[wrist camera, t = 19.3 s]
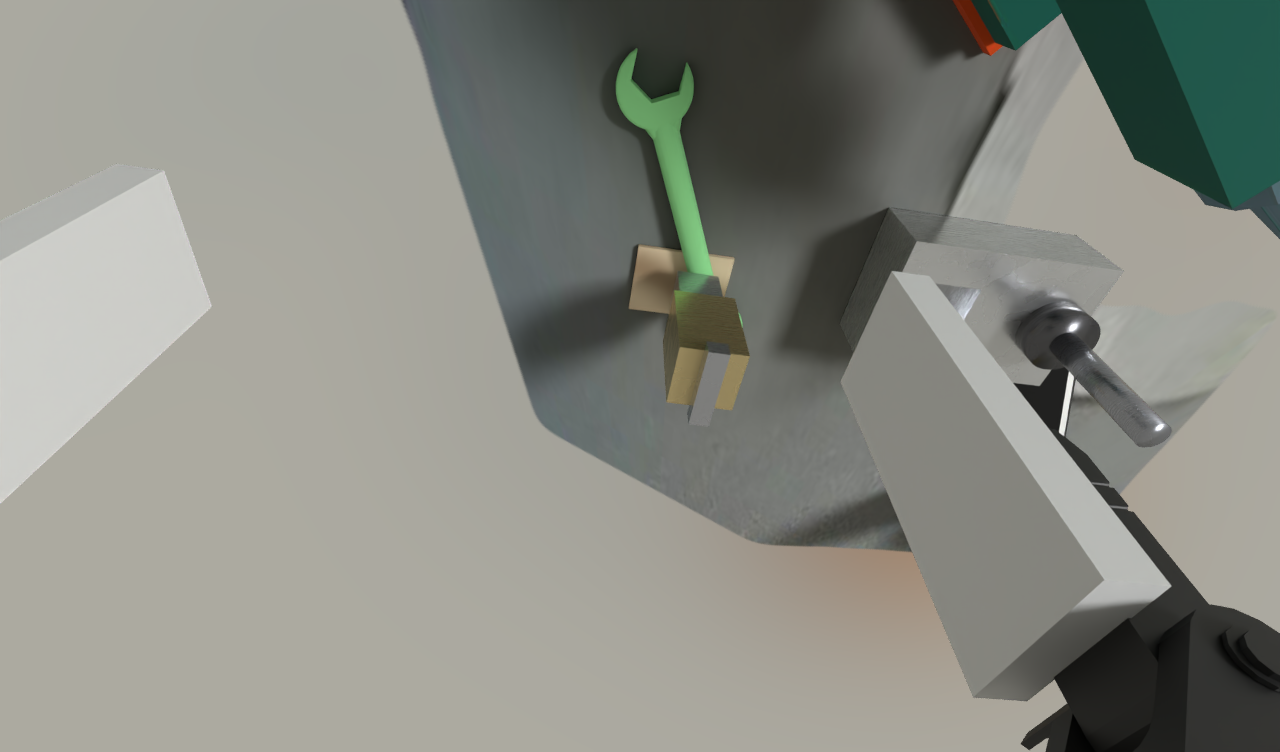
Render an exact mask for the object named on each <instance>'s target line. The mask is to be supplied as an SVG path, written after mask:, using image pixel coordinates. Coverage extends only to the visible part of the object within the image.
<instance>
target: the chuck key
mask: <svg viewBox="0 0 1280 752" xmlns="http://www.w3.org/2000/svg"><path fill="white" fill-rule="evenodd" d="M663 352H664V369H665V386H666V402H669V403H677V404H685V405H689V408H688V412H687V415H688V424H691V425H699V426H707V427H709V424H710V421H711V417H712V414H713V411H714V408H718V409H726V410H732V409H733V406H734V403H735V400H736V396H737V393H738V390H739V387H740V384H741V381H742V378H743V375H744V372H745V369H746V366H747V363H748V360H749V357H750V355H749V351H748V348H747V344H746V340H745V336H744V332H743V328H742V325H741V321H740V317H739V313H738V309H737V305H736V302H735V299H734V298H727V297H723V294H722V290H721V285H720V281H719V277H718V276H711V275H705V274H698V273H691V272H684V271H677V275H676V279H675V284H674V288H673V293H672V298H671V302H670V311H669V316H668V320H667V325H666V330H665V334H664V339H663Z"/></svg>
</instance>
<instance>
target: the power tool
mask: <svg viewBox="0 0 1280 752" xmlns="http://www.w3.org/2000/svg"><path fill="white" fill-rule="evenodd" d="M953 2H954V4H955V5H956V7H957V9H958V11H959V12H960V14H961V16H962V17H963V19H964V21H965V22H966V24H967V26H968V27H969V29H970V31H971V33H972V34H973V36H974V38H975V39H976V41H977V43H978V44H979V46H980V48H981V50H982V51H983V53H985V54H988V55H990V56H991V55H992V54H994V53H995V52H996V51H997V50H998V49H1000V48H1001V47H1002V46H1005V47H1008V48H1010V49H1013V50H1017V49H1018V48H1019V47H1021V46H1022V45H1023V44H1024V43H1025V42H1027V41H1028V40H1029V39H1030V38H1032V37H1033V36H1034V35H1035V34H1036V33H1038V32H1039V31H1040V30H1041V29H1043V28H1044V27H1045V26H1046V25H1047V24H1049V23H1050V22H1051V21H1052V20H1053V19H1055V18H1056V17H1057V16H1058V15H1060V14H1061V13H1062V14H1063V16H1064V18H1065V20H1066V22H1067V24H1068V26H1069V28H1070V30H1071V32H1072V34H1073V36H1074V38H1075V40H1076V42H1077V44H1078V47H1079V49H1080V51H1081V53H1082V55H1083V57H1084V59H1085V61H1086V63H1087V65H1088V67H1089V69H1090V71H1091V73H1092V74H1093V77H1094V79H1095V81H1096V83H1097V85H1098V86H1099V89H1100V91H1101V93H1102V95H1103V96H1104V99H1105V101H1106V103H1107V105H1108V107H1109V109H1110V111H1111V113H1112V115H1113V117H1114V119H1115V121H1116V123H1117V125H1118V127H1119V129H1120V131H1121V133H1122V135H1123V137H1124V139H1125V141H1126V143H1127V145H1128V147H1129V149H1130V151H1131V153H1132V155H1133V157H1134V159H1135V160H1137V161H1139V162H1141V163H1143V164H1145V165H1147V166H1149V167H1151V168H1153V169H1154V170H1156V171H1158V172H1161V173H1162V174H1164V175H1166V176H1168V177H1170V178H1172V179H1174V180H1176V181H1178V182H1180V183H1182V184H1184V185H1186V186H1188V187H1190V188H1192V189H1194V190H1195V192H1196V193H1197V194H1198V196H1199V197H1200V198H1201V200H1202V201H1203V202H1204V204H1205V205H1209V206H1214V207H1219V208H1224V209H1229V210H1234V211H1237V210H1244V209H1251V210H1252V211H1253V212H1254V213H1255V215H1256V216H1257V217H1258V218H1259V219H1261V221H1262V222H1263V223H1264V224H1265V225H1266V226H1267V227H1268V228H1269V229H1270V230H1271V231H1272V232H1273V233H1274V234H1275V235H1276V236H1277V237H1278V238H1279V239H1280V0H953Z"/></svg>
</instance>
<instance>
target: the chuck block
mask: <svg viewBox="0 0 1280 752" xmlns="http://www.w3.org/2000/svg"><path fill="white" fill-rule="evenodd" d="M891 271H896V272H903V273H911V274H918V275H925V276H930V278H931V279H932V280H933V281H934V283H935V284H936V285H937V286H938V288H939V289H940V290H941V292H942V293H943V294H944V295H945V297H946V298H947V299H948V301H949V302H950V303H951V304H952V306H953V307H954V308H955V310H956V311H957V312H958V313H959V315H960V316H961V317H962V318H963V320H964V321H965V322H966V324H967V325H968V326H969V327H970V329H971V330H972V331H973V333H974V334H975V335H976V336H977V338H978V339H979V340H980V341H981V343H982V344H983V345H984V347H985V348H986V349H987V350H988V352H989V353H990V354H991V356H992V357H993V358H994V359H995V361H996V362H997V363H998V365H999V366H1000V367H1001V368H1002V370H1003V371H1004V372H1005V373H1006V375H1007V376H1008V377H1009V379H1010V380H1011V381H1012V382H1013V383H1019V384H1027V385H1035V386H1040V385H1041V383H1042V382H1043V381H1044V379H1045V378H1046V377H1047V375H1048V374H1049V373H1050V371H1051V370H1052V369H1059V368H1063V367H1065V368H1066V369H1067V370H1068V371H1069V372H1070V373H1071V374H1072V375H1073V376H1074V377H1075V378H1076V380H1077V381H1078V382H1079V383H1080V384H1081V385H1082V386H1083V387H1084V388H1085V389H1086V390H1087V391H1088V393H1089V394H1090V395H1091V396H1092V397H1093V398H1094V399H1095V400H1096V401H1097V402H1098V403H1099V404H1100V406H1101V407H1102V408H1103V409H1104V410H1105V411H1106V412H1107V413H1108V414H1109V415H1110V416H1111V418H1112V419H1113V420H1114V421H1115V422H1116V423H1117V424H1118V425H1119V426H1120V427H1121V428H1122V429H1123V431H1124V432H1125V433H1126V434H1127V435H1128V436H1129V437H1130V438H1131V439H1132V440H1133V441H1134V442H1135V444H1136V445H1138V446H1139V447H1152V446H1155V445H1158V444H1160V443H1162V442H1163V441H1165V440H1166V439H1167V438H1168V437H1169V436H1170V434H1171V431H1172V429H1171V427H1170V426H1169V425H1168V424H1167V423H1166V422H1165V421H1164V420H1163V419H1162V418H1161V417H1160V416H1159V415H1158V414H1157V413H1156V412H1155V411H1154V410H1152V409H1151V408H1150V407H1149V406H1148V405H1147V404H1146V403H1145V402H1144V401H1143V400H1142V399H1141V398H1140V397H1139V396H1138V395H1137V394H1136V393H1135V392H1134V391H1133V390H1132V389H1131V388H1130V387H1129V386H1128V385H1127V384H1126V383H1125V382H1124V381H1123V380H1122V379H1121V378H1120V377H1119V376H1118V375H1117V374H1116V373H1115V372H1114V371H1113V370H1112V369H1111V368H1110V367H1109V366H1108V365H1107V364H1106V363H1105V362H1104V361H1103V360H1102V359H1101V358H1100V357H1099V356H1098V355H1096V354H1095V353H1094V352H1093V351H1092V349H1093V348H1094V347H1095V345H1096V344H1097V342H1098V340H1099V337H1100V327H1099V324H1098V323H1097V322H1096V321H1095V320H1094V319H1093V318H1092V317H1091V315H1092V314H1093V313H1094V311H1095V310H1096V309H1097V307H1098V306H1099V305H1100V303H1101V302H1102V300H1103V299H1104V298H1105V296H1106V295H1107V294H1108V292H1109V291H1110V290H1111V288H1112V287H1113V285H1114V284H1115V283H1116V281H1117V280H1118V279H1119V277H1120V276H1121V275H1122V273H1123V272H1124V270H1122V269H1121V268H1120V267H1118V266H1117V265H1116V264H1114V263H1113V262H1112V261H1110V260H1109V259H1108V258H1106V257H1105V256H1104V255H1102V254H1101V253H1100V252H1098V251H1097V250H1096V249H1094V248H1093V247H1092V246H1090V245H1088V243H1086V242H1085V241H1084V240H1082V239H1081V238H1079V237H1078V236H1077V235H1071V234H1064V233H1058V232H1051V231H1045V230H1037V229H1031V228H1024V227H1017V226H1010V225H1004V224H997V223H991V222H984V221H977V220H970V219H964V218H957V217H950V216H943V215H937V214H930V213H923V212H916V211H910V210H903V209H896V208H888V211H887V213H886V216H885V218H884V220H883V223H882V225H881V227H880V230H879V232H878V234H877V237H876V239H875V241H874V244H873V246H872V248H871V251H870V253H869V255H868V258H867V260H866V262H865V265H864V267H863V269H862V272H861V274H860V276H859V279H858V281H857V284H856V286H855V288H854V291H853V293H852V295H851V298H850V300H849V302H848V305H847V307H846V309H845V312H844V314H843V316H842V319H841V321H840V323H839V324H840V326H841V328H842V330H843V332H844V334H845V336H846V338H847V340H848V342H849V345H850V347H851V349H852V351H853V353H854V351H855V349H856V347H857V345H858V343H859V340H860V338H861V336H862V334H863V332H864V330H865V327H866V325H867V323H868V321H869V319H870V317H871V314H872V312H873V310H874V308H875V306H876V304H877V301H878V299H879V297H880V295H881V293H882V291H883V288H884V286H885V284H886V282H887V280H888V278H889V275H890V273H891Z"/></svg>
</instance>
